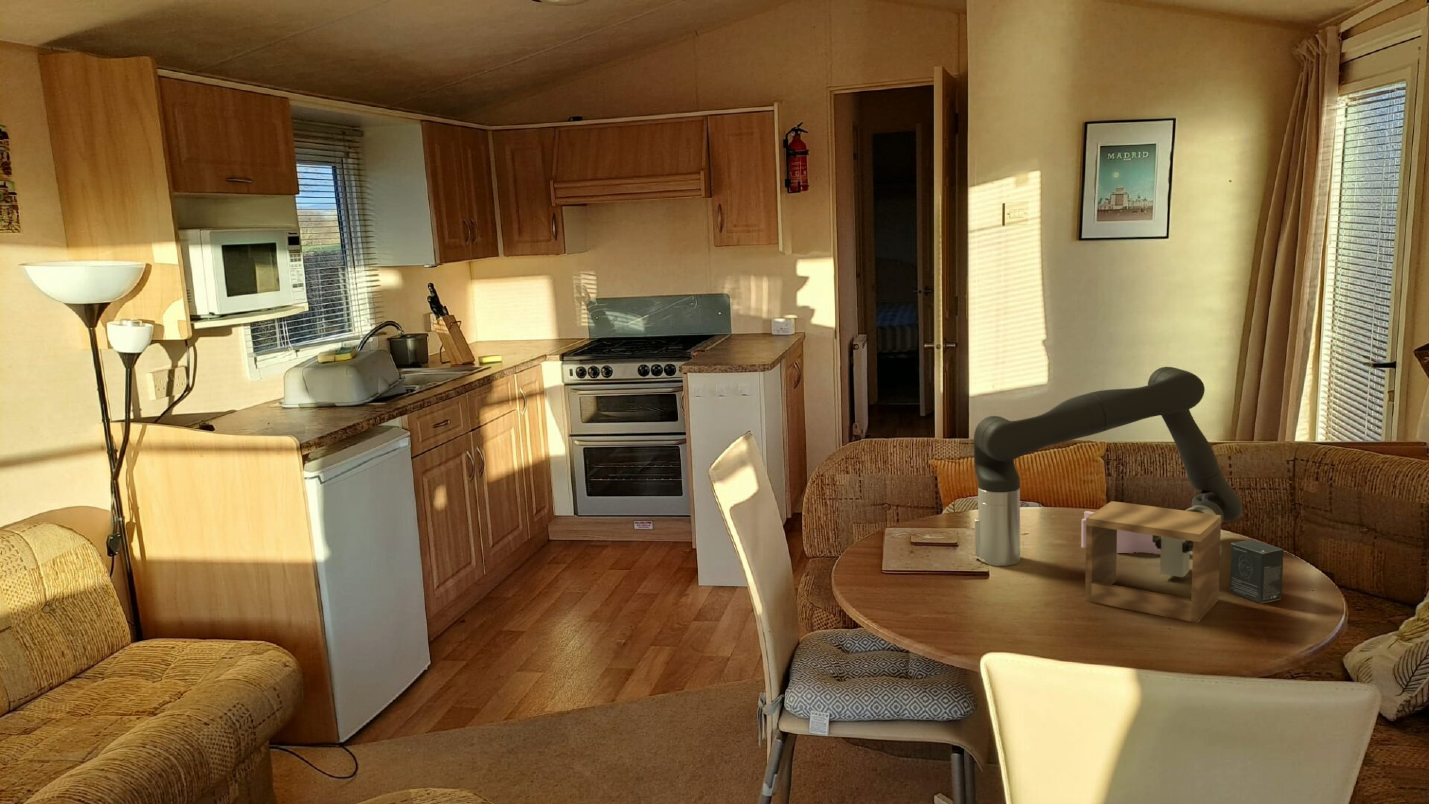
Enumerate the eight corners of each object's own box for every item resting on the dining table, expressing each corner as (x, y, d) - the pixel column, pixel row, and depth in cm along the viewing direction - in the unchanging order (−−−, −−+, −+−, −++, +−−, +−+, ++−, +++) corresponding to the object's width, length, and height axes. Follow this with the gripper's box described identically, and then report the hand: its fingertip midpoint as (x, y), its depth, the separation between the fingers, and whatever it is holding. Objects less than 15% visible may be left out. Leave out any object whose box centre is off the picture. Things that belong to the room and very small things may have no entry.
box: (1282, 599, 202) (1284, 548, 200) (1260, 604, 200) (1262, 553, 198) (1249, 587, 209) (1251, 538, 207) (1228, 592, 207) (1230, 542, 206)
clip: (1175, 542, 240) (1175, 514, 239) (1173, 559, 229) (1174, 529, 228) (1085, 535, 248) (1085, 508, 247) (1079, 551, 237) (1080, 522, 236)
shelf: (1085, 600, 207) (1086, 518, 204) (1110, 580, 217) (1111, 501, 214) (1197, 622, 193) (1200, 534, 190) (1218, 599, 204) (1221, 515, 201)
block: (1160, 573, 216) (1161, 519, 214) (1166, 567, 219) (1168, 513, 217) (1182, 577, 213) (1183, 522, 211) (1189, 571, 216) (1190, 516, 214)
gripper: (1162, 504, 230) (1136, 524, 217) (1230, 513, 220) (1208, 534, 208) (1161, 536, 231) (1136, 557, 218) (1229, 546, 222) (1207, 569, 209)
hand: (1171, 546), depth 213 cm, fingers closed on block, 4 cm apart
